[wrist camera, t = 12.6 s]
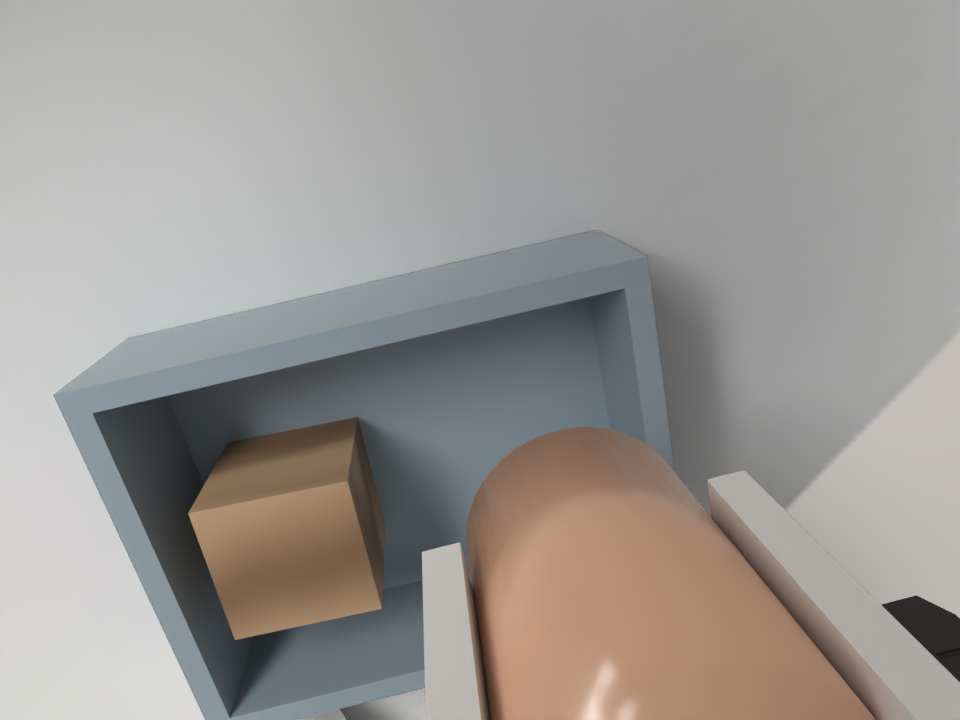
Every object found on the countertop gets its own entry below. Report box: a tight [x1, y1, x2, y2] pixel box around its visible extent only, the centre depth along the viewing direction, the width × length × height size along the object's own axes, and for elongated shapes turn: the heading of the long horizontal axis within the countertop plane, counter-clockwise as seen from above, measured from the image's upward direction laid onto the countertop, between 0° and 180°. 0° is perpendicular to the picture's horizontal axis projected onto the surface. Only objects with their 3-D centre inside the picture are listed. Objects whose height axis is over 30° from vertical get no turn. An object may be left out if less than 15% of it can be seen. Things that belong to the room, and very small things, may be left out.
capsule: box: [466, 427, 876, 720], centre depth 12 cm, size 5×5×7 cm
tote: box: [54, 230, 675, 720], centre depth 24 cm, size 14×18×6 cm
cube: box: [188, 417, 386, 640], centre depth 24 cm, size 5×5×5 cm
